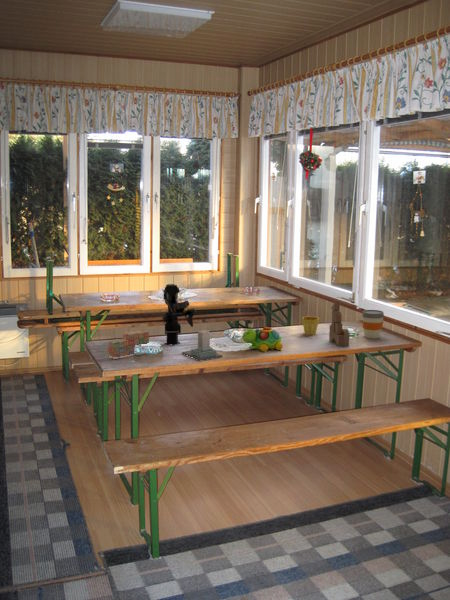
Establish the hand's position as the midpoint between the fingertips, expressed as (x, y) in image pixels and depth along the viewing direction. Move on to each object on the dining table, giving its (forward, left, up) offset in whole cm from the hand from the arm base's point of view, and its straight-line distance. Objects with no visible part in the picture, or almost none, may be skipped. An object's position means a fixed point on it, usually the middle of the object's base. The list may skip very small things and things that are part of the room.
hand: (185, 327), depth 344 cm
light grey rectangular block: (+2, +14, -12) cm, 19 cm away
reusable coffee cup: (-89, +72, -14) cm, 115 cm away
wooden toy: (-63, +62, -14) cm, 89 cm away
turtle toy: (-29, +31, -14) cm, 45 cm away
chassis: (+1, +12, -13) cm, 18 cm away
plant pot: (-75, +38, -14) cm, 85 cm away
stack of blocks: (+23, -21, -14) cm, 34 cm away
